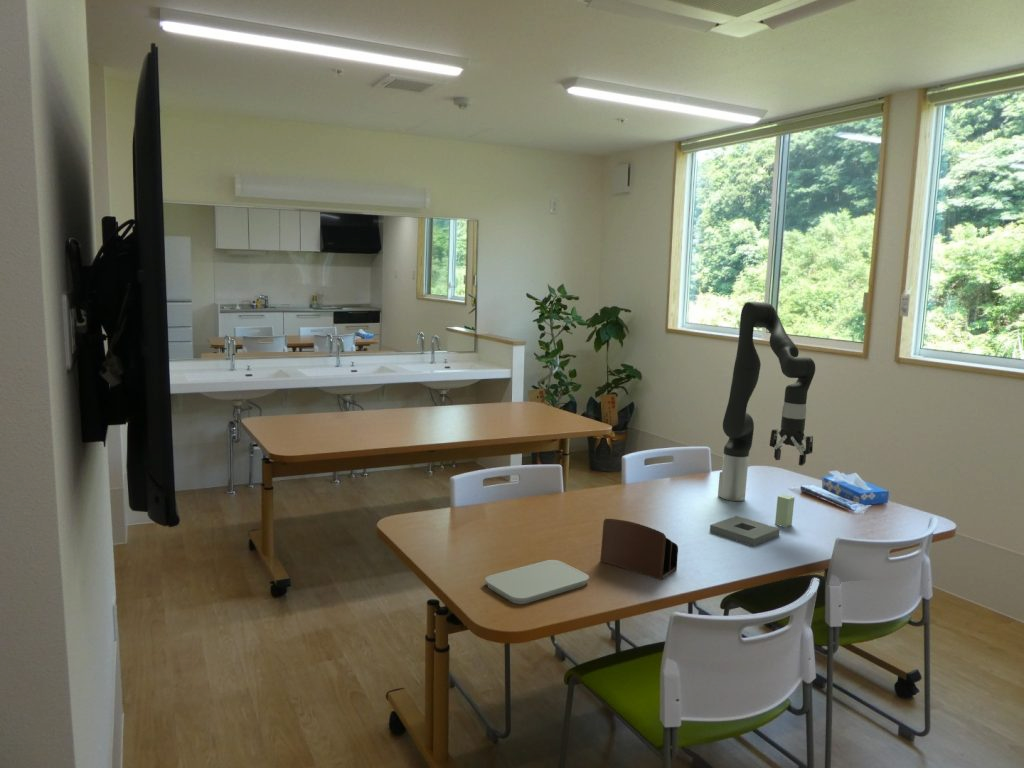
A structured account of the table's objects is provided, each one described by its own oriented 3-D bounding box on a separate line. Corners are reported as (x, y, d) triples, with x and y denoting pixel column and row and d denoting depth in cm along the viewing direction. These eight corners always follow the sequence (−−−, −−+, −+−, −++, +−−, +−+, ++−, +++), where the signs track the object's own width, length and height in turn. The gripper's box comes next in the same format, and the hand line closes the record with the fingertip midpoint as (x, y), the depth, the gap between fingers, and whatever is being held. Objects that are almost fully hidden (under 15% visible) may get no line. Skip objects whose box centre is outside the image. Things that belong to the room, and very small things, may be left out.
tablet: (480, 586, 198) (480, 577, 198) (554, 565, 214) (554, 558, 214) (517, 608, 186) (517, 600, 185) (593, 585, 201) (593, 577, 201)
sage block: (775, 524, 257) (777, 496, 256) (780, 522, 260) (783, 494, 258) (785, 527, 254) (788, 499, 253) (791, 525, 257) (794, 497, 255)
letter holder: (661, 580, 206) (665, 532, 204) (599, 562, 217) (602, 515, 215) (677, 570, 214) (680, 523, 211) (616, 552, 225) (619, 507, 223)
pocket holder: (709, 532, 246) (710, 524, 246) (736, 522, 257) (736, 515, 257) (753, 546, 235) (754, 538, 234) (779, 535, 245) (779, 528, 245)
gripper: (819, 418, 249) (814, 465, 251) (779, 411, 259) (775, 456, 261) (808, 420, 244) (803, 468, 246) (768, 413, 254) (764, 459, 256)
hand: (789, 462), depth 254 cm, fingers open, 8 cm apart
